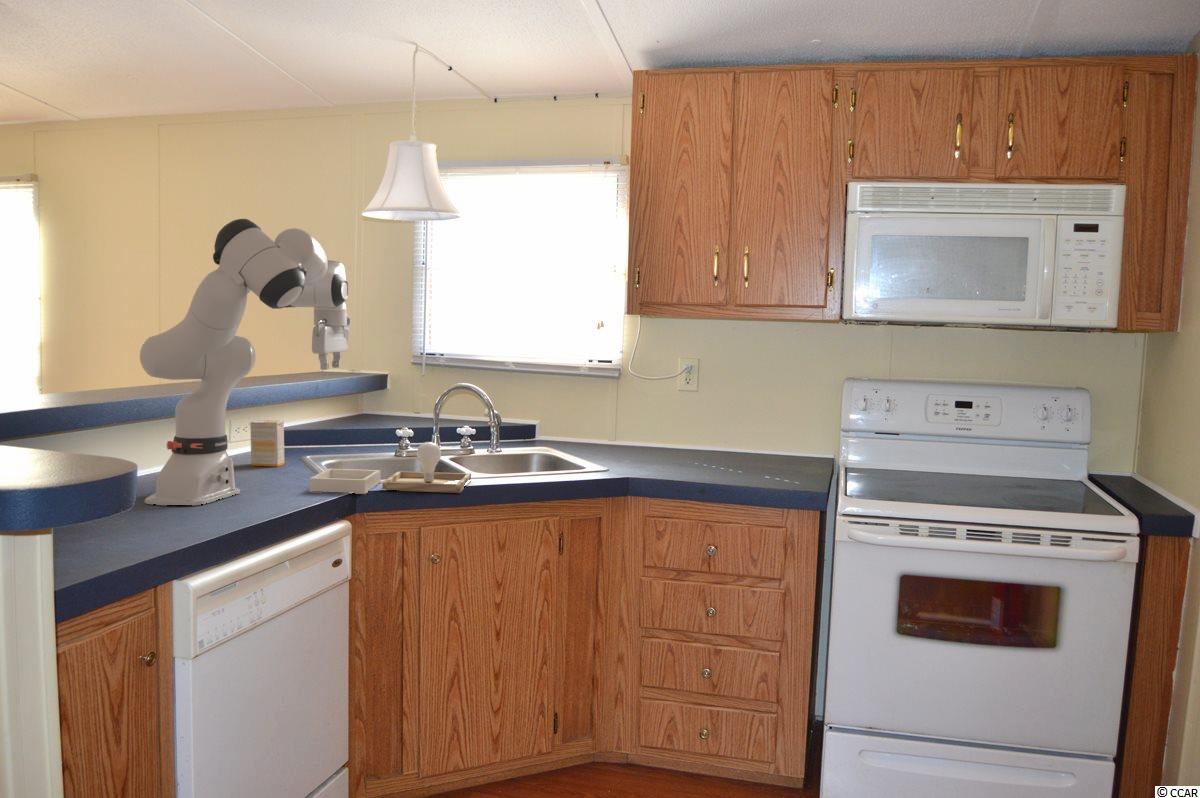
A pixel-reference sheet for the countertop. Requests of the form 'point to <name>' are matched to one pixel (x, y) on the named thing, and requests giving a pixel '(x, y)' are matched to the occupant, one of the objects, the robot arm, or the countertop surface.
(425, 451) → the lightbulb
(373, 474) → the shallow white dish
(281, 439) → the supplement box
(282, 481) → the countertop surface
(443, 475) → the tray
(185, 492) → the robot arm
